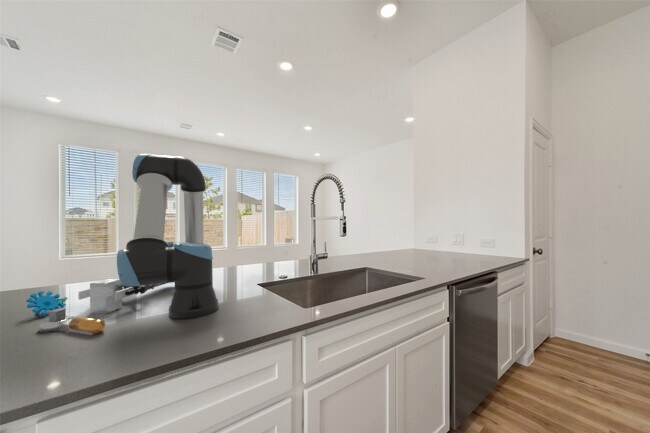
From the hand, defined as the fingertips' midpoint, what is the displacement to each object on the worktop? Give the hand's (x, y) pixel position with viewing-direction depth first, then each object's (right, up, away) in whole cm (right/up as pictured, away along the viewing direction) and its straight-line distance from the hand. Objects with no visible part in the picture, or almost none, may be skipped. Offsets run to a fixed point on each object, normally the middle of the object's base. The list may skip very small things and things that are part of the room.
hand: (97, 295), depth 86 cm
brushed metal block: (0, -6, +3) cm, 7 cm away
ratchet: (+5, -6, -13) cm, 15 cm away
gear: (-18, -7, +1) cm, 19 cm away
